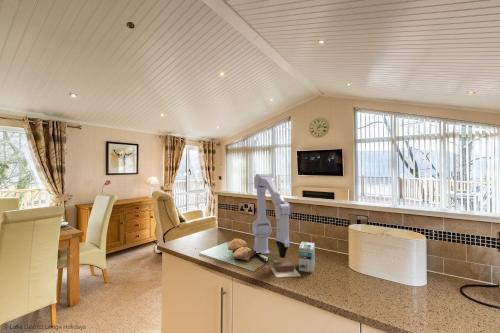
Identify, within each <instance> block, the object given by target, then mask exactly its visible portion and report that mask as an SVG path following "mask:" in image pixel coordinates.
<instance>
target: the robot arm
mask: <svg viewBox="0 0 500 333" xmlns="http://www.w3.org/2000/svg"><path fill="white" fill-rule="evenodd" d="M253 181H254V182H253V184H254V185H253V186H254V187H253V188H254V189H255V190H256V206H257V208H256V209H257V210H256V211H257V212H256V213H257V214H256V216H257V218H255V220H253V222H252V229H251V230H252V234H253V236H255V237H254V247H253V248H252V249H253V252H255V251H256V252H259V253H261V254H260V255H263V254H264V255H265V254H267V255H268V254H271V252H270V250H269V237H270V235H271V233H272V231H273V230H272V226H271V221H270V220H269V219H268V218H267V205H266V204H267V202H266V200H267V199H266V191H268V192H269V194H270V200H271V202H272V204H273V206H274V214H275V219H276V235H275V236H276V237H273V240H274V241H275V245H276V246H277V249H278V255H279V258H280V259H285V258H286V256H287V250H288V249H289V247H290V245H291V244H290V234H289V232H290V216H291V214H292V210H293V209H292V205H291V204H290V203H289V202H287V201H286V200H285V198H284V197H283V195H282V193H281V192H279V191H278V190H277V187H276V186H275V177H274V175H273V174H272V173H270V174H269V173H268V174H265V173H261V174H260V173H256V174H255V175H254V179H253Z"/></svg>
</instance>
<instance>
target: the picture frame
mask: <svg viewBox="0 0 500 333" xmlns="http://www.w3.org/2000/svg"><path fill="white" fill-rule="evenodd" d="M272 266H273V267H274V268H275V270H276V271H277V272H286V271H294V268H295V265H294V264H293V263H292V261H291V260H290V259H279V260H278V259H277V260H276V259H275V260H272Z"/></svg>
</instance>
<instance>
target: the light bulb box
mask: <svg viewBox="0 0 500 333" xmlns="http://www.w3.org/2000/svg"><path fill="white" fill-rule="evenodd" d="M315 244H316V243H315V242H309V241H308V242H307V241H301V243H300V244H299V247H298V271H300V272H304V273H305V272H306V273H312V274H313V273H314V269H315V264H316V263H315V262H316V261H315V259H316V258H315V256H316V255H315V254H316V253H315V252H316V248H315V246H316V245H315Z"/></svg>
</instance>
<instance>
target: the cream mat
mask: <svg viewBox="0 0 500 333" xmlns="http://www.w3.org/2000/svg"><path fill="white" fill-rule="evenodd" d="M270 270H271V271H272V273H273V275H274V277H276V278H290V277H291V278H292V277H294V278H295V277H301V273H300V272H298V270H297V269H296V268H295V267H294V271H286V272H277V271H276V270H275V268H274V266H273V267H272V266H271V267H270Z"/></svg>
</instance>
